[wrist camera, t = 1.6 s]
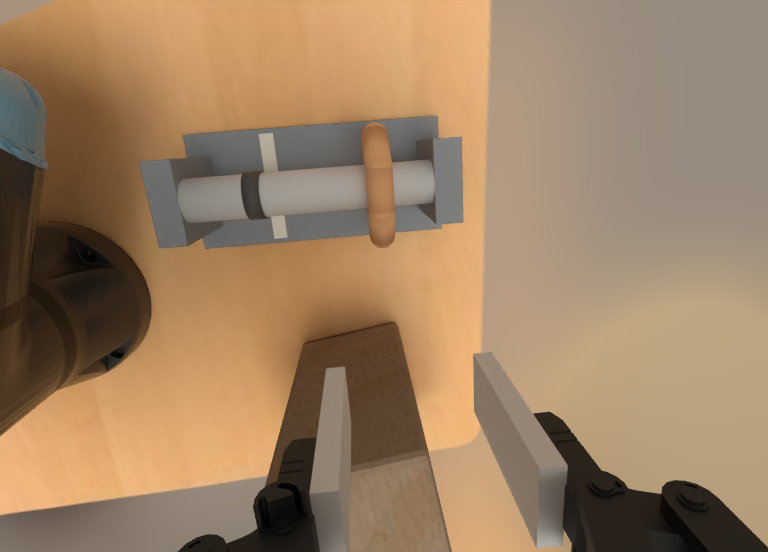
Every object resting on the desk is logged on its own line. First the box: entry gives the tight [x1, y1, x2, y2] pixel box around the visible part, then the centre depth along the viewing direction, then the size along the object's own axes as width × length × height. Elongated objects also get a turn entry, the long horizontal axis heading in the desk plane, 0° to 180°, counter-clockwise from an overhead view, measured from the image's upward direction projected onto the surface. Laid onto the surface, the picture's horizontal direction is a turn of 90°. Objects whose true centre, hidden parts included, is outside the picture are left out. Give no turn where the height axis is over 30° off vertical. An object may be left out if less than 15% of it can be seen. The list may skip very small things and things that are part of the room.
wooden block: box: [265, 323, 452, 552], centre depth 35 cm, size 10×10×20 cm
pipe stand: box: [139, 116, 463, 249], centre depth 34 cm, size 22×10×10 cm, turn 94°
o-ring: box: [361, 122, 395, 248], centre depth 32 cm, size 2×9×9 cm, turn 4°
